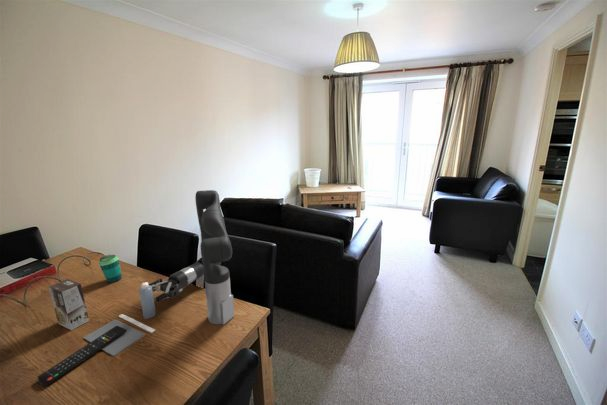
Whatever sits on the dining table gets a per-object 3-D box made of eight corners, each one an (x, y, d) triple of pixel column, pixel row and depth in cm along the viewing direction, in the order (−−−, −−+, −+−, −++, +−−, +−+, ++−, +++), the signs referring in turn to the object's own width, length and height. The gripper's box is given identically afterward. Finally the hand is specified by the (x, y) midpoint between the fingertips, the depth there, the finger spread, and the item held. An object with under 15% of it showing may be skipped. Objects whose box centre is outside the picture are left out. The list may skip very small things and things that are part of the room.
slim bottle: (158, 313, 112) (153, 282, 109) (148, 319, 109) (142, 288, 105) (151, 310, 114) (146, 279, 111) (140, 316, 110) (135, 285, 107)
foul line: (155, 330, 103) (155, 329, 103) (151, 333, 102) (151, 332, 102) (122, 314, 112) (122, 313, 112) (118, 316, 110) (118, 316, 110)
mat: (145, 335, 101) (145, 334, 100) (113, 356, 91) (113, 355, 91) (115, 320, 108) (115, 319, 108) (83, 338, 99) (83, 337, 99)
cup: (115, 284, 133) (110, 261, 130) (98, 284, 133) (93, 261, 130) (125, 275, 141) (121, 254, 138) (109, 275, 141) (105, 253, 138)
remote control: (126, 332, 101) (126, 329, 101) (46, 388, 80) (45, 384, 80) (117, 328, 103) (116, 325, 103) (36, 381, 82) (35, 378, 82)
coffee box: (90, 320, 108) (81, 283, 104) (71, 331, 103) (61, 292, 98) (76, 314, 112) (68, 278, 108) (57, 323, 106) (47, 286, 102)
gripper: (171, 267, 126) (136, 284, 112) (193, 274, 120) (159, 293, 106) (173, 281, 128) (139, 300, 114) (195, 289, 122) (162, 310, 108)
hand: (149, 297), depth 110 cm, fingers open, 8 cm apart
